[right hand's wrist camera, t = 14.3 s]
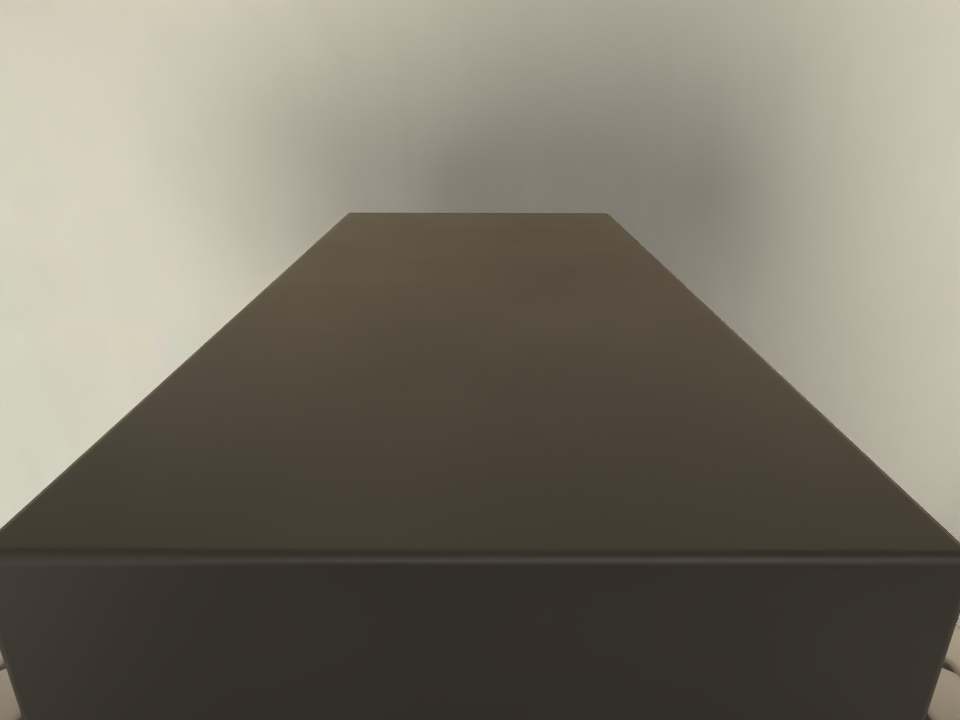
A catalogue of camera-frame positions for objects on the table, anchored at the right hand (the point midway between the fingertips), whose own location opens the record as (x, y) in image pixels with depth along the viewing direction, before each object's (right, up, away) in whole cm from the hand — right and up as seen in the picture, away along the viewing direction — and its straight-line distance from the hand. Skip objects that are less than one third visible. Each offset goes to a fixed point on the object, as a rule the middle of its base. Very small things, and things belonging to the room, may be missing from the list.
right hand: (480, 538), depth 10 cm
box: (0, -5, +10) cm, 11 cm away
